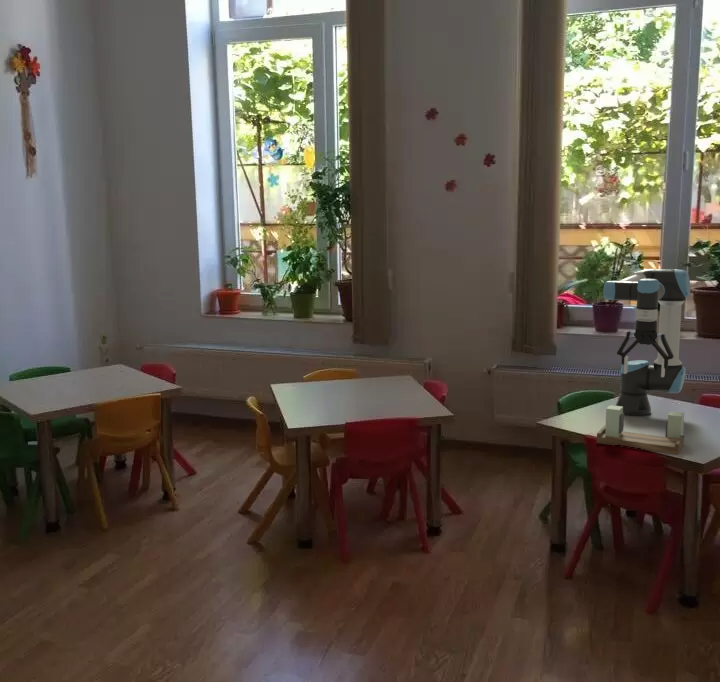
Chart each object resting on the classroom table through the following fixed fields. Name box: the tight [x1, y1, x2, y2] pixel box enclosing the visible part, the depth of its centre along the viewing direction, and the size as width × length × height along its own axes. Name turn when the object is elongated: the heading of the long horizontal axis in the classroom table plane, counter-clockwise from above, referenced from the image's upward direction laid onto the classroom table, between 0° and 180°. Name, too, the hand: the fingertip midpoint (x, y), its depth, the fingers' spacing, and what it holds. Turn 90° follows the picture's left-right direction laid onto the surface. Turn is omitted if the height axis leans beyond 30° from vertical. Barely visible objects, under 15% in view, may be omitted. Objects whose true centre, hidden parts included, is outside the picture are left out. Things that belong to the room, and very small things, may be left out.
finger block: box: [664, 411, 685, 439], centre depth 296 cm, size 6×6×11 cm
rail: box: [596, 425, 685, 455], centre depth 293 cm, size 12×30×4 cm, turn 58°
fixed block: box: [605, 404, 625, 437], centre depth 297 cm, size 6×6×11 cm
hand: (644, 374), depth 289 cm, fingers open, 13 cm apart
